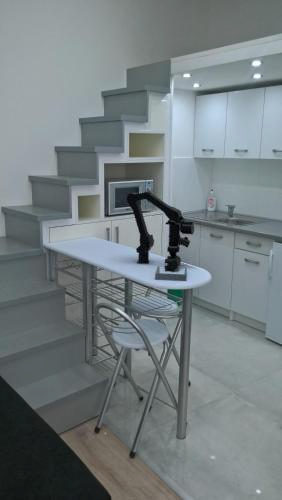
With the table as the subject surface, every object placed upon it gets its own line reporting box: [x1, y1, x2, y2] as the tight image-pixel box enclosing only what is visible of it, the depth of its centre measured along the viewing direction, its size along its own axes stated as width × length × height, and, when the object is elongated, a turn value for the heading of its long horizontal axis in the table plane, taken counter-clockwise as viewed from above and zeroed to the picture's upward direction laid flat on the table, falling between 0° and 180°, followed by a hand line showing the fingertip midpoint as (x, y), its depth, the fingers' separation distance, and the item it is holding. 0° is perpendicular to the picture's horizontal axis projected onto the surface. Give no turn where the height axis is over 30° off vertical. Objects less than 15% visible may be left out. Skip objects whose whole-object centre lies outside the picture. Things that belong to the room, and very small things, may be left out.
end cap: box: [164, 254, 182, 273], centre depth 225 cm, size 10×7×7 cm
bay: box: [154, 266, 188, 282], centre depth 213 cm, size 14×15×3 cm
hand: (173, 261), depth 232 cm, fingers closed
